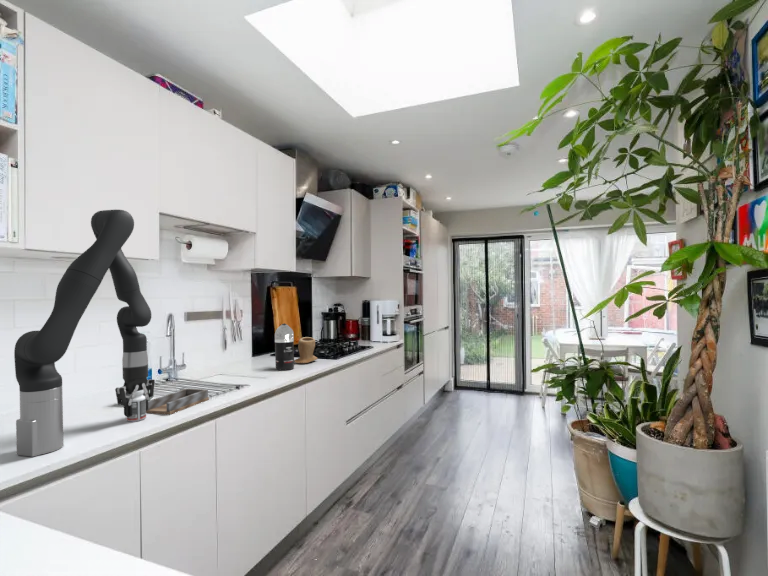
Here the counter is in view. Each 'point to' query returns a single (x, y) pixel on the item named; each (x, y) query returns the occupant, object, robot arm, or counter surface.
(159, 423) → the counter surface
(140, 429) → the counter surface
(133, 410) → the pill bottle
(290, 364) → the black labeled bottle
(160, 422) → the counter surface
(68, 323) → the robot arm
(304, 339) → the stone cup
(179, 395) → the grey tray
